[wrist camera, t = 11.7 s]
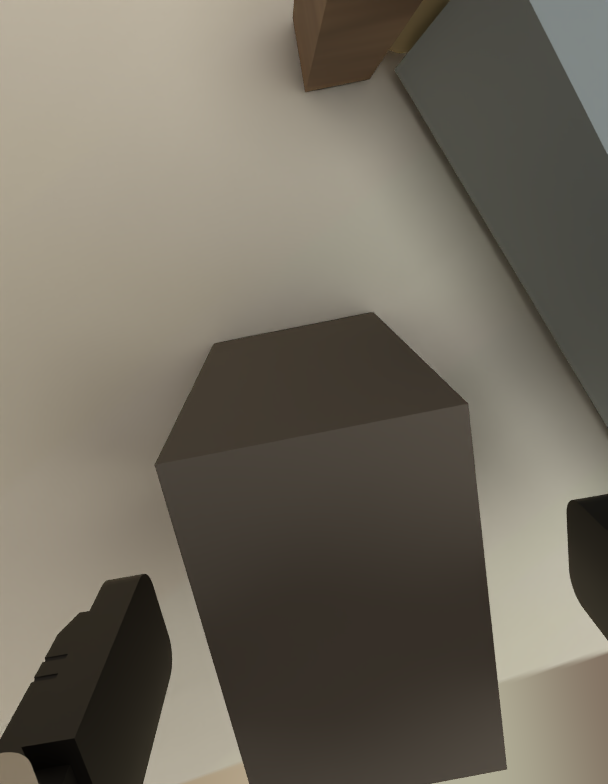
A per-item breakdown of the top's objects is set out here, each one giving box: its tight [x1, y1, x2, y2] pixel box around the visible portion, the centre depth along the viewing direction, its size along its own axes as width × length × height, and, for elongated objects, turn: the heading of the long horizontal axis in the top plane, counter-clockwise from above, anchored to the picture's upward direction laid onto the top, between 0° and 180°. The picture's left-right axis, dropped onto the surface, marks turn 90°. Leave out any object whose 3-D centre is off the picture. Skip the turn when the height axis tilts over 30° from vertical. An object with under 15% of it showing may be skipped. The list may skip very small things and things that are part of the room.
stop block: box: [155, 312, 507, 784], centre depth 13 cm, size 4×7×8 cm, turn 11°
